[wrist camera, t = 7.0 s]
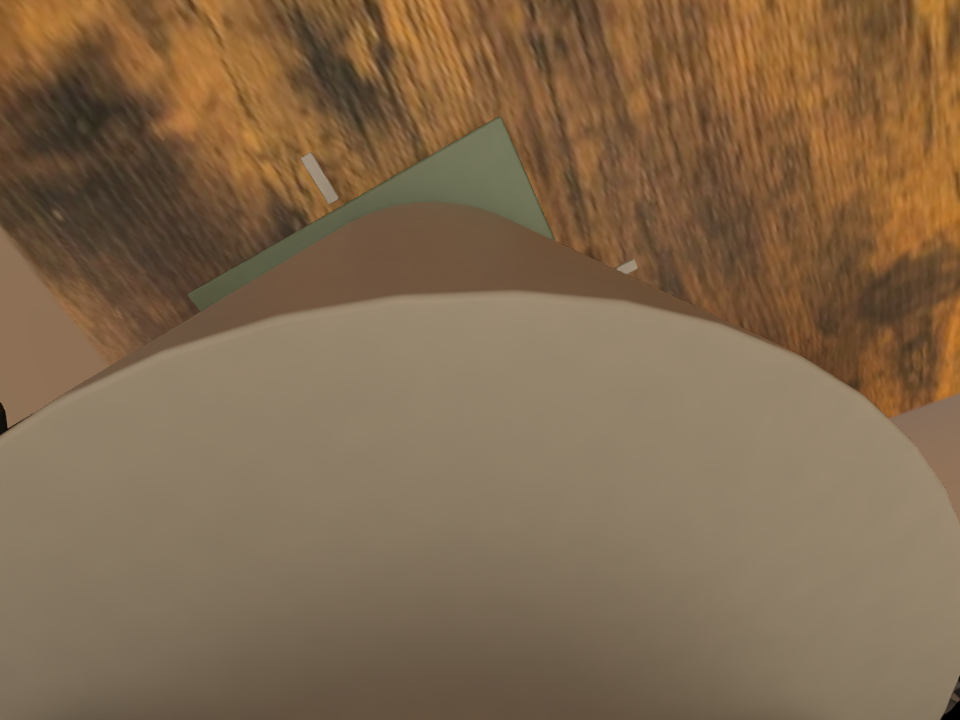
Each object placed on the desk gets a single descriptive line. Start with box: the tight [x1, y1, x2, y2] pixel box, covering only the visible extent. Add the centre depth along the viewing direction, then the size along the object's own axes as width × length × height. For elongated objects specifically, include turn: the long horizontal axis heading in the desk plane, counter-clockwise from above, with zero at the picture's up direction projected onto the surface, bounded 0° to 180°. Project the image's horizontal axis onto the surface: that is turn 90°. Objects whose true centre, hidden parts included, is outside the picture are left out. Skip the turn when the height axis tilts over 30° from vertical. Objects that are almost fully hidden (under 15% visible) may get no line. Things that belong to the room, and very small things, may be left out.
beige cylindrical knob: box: [0, 201, 960, 720], centre depth 10 cm, size 11×11×12 cm
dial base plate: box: [188, 117, 637, 312], centre depth 17 cm, size 15×15×3 cm
